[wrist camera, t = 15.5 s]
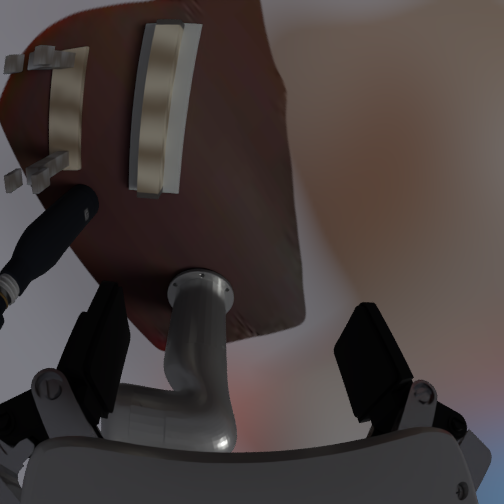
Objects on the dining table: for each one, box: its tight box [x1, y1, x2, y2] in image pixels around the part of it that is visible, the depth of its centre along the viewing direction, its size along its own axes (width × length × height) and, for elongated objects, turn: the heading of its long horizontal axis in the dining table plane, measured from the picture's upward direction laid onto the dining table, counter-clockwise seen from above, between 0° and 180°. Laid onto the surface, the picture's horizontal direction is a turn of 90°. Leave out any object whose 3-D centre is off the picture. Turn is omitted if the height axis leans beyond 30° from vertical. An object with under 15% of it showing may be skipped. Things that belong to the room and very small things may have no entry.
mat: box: [129, 23, 202, 194], centre depth 34 cm, size 26×8×1 cm, turn 170°
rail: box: [137, 19, 185, 199], centre depth 32 cm, size 26×3×3 cm, turn 170°
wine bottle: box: [0, 185, 99, 329], centre depth 28 cm, size 6×6×30 cm
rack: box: [4, 45, 89, 194], centre depth 26 cm, size 20×6×13 cm, turn 170°
